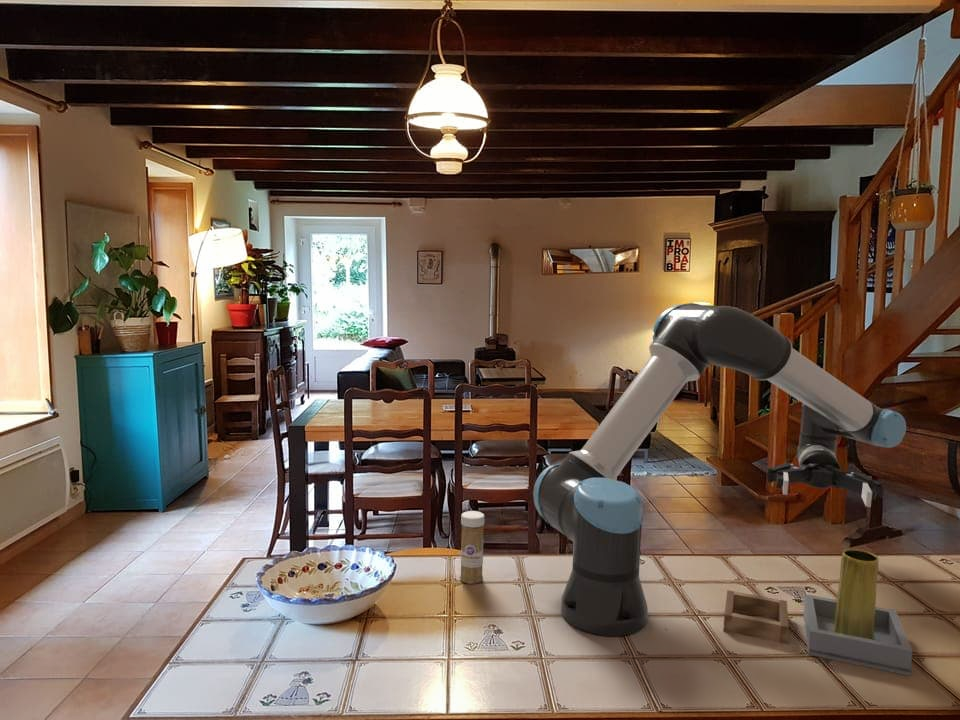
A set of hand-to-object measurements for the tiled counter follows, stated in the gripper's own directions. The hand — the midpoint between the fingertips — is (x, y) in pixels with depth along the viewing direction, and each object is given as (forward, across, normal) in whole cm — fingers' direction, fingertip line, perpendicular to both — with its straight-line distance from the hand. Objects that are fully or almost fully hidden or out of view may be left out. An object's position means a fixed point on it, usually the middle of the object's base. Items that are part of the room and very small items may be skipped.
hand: (826, 493), depth 122 cm
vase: (+12, -5, -21) cm, 25 cm away
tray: (+12, -5, -22) cm, 25 cm away
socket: (+13, +10, -22) cm, 27 cm away
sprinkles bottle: (+18, +62, -23) cm, 69 cm away
